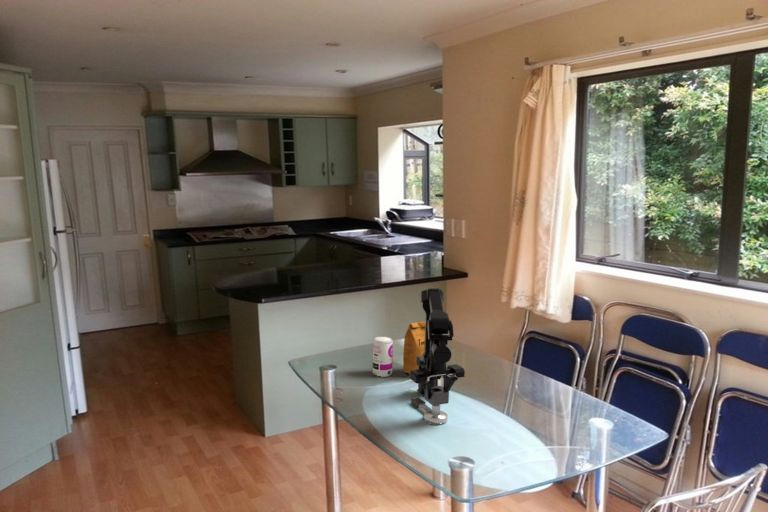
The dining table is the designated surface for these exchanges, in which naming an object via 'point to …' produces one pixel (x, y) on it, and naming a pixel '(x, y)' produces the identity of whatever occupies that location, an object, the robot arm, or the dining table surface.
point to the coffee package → (413, 345)
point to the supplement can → (382, 356)
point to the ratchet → (430, 412)
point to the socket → (438, 396)
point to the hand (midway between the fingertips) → (436, 397)
